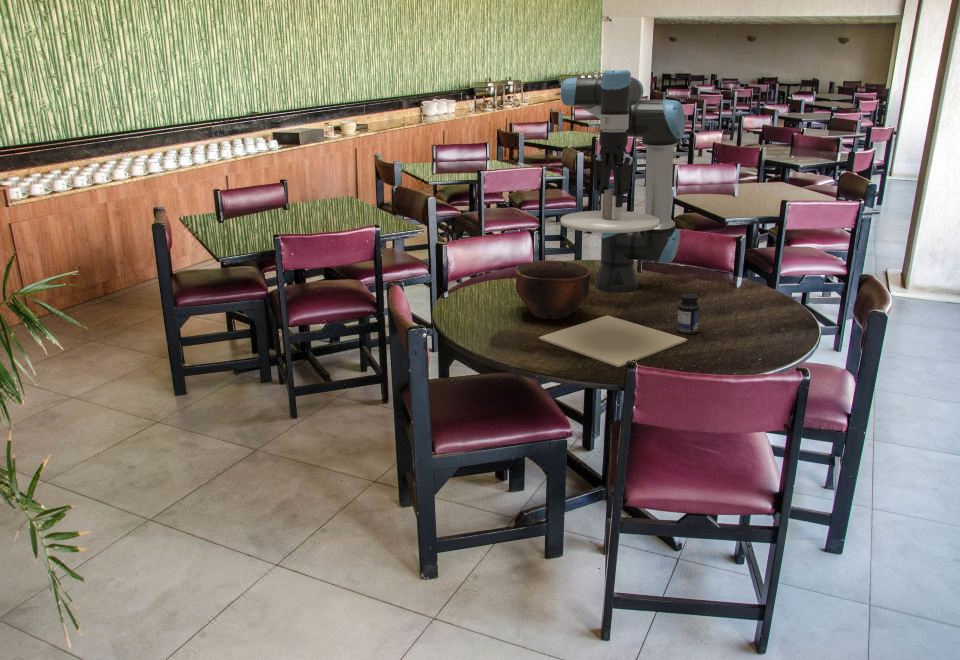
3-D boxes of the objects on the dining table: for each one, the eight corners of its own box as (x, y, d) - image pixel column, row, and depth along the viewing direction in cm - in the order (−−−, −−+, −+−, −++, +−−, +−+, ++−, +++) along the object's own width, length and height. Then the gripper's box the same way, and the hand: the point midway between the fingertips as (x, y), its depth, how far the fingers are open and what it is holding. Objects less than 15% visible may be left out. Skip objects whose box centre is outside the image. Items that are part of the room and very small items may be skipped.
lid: (540, 222, 213) (540, 189, 211) (604, 211, 230) (606, 180, 227) (614, 237, 194) (616, 200, 191) (679, 223, 210) (681, 189, 207)
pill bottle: (691, 327, 230) (694, 292, 227) (701, 333, 225) (704, 297, 221) (672, 329, 229) (675, 293, 225) (682, 335, 223) (684, 299, 220)
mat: (538, 338, 223) (538, 337, 222) (607, 317, 241) (607, 315, 241) (618, 367, 201) (618, 365, 201) (687, 340, 219) (687, 338, 219)
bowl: (606, 312, 246) (608, 266, 241) (560, 331, 228) (561, 283, 223) (545, 298, 261) (545, 255, 257) (498, 315, 244) (497, 269, 239)
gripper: (581, 130, 208) (579, 215, 215) (628, 133, 196) (624, 223, 203) (600, 128, 212) (597, 212, 220) (647, 131, 200) (642, 220, 208)
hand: (610, 217), depth 211 cm, fingers closed on lid, 3 cm apart
